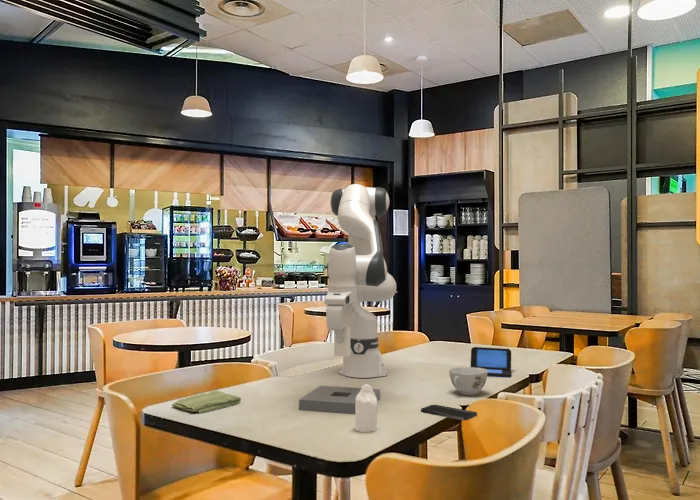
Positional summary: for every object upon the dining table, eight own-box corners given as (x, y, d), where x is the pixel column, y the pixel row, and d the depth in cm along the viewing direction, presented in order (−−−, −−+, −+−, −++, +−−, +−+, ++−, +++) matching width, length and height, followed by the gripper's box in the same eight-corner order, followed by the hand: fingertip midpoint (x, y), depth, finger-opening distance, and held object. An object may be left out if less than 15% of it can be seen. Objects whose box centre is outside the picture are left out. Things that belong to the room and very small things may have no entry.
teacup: (462, 387, 209) (462, 364, 209) (494, 393, 200) (494, 369, 200) (437, 395, 197) (437, 370, 197) (471, 401, 189) (471, 375, 189)
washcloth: (169, 409, 181) (169, 398, 181) (217, 398, 194) (217, 388, 194) (195, 416, 172) (195, 405, 172) (244, 405, 186) (244, 394, 186)
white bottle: (368, 380, 163) (382, 384, 158) (368, 425, 163) (381, 429, 158) (350, 383, 159) (363, 386, 155) (350, 428, 159) (363, 433, 154)
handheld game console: (468, 376, 230) (468, 351, 230) (471, 369, 243) (471, 346, 243) (511, 378, 226) (511, 353, 226) (511, 371, 239) (511, 348, 239)
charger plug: (338, 354, 188) (338, 323, 188) (350, 354, 187) (350, 323, 187) (334, 356, 184) (334, 324, 184) (346, 356, 183) (346, 325, 183)
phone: (433, 404, 182) (478, 412, 173) (433, 408, 182) (478, 416, 173) (419, 409, 176) (465, 417, 167) (419, 413, 176) (465, 422, 167)
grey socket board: (320, 394, 198) (320, 385, 198) (380, 398, 192) (380, 389, 192) (299, 409, 178) (299, 399, 178) (364, 414, 173) (364, 404, 173)
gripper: (341, 294, 197) (341, 337, 196) (322, 299, 177) (322, 346, 177) (360, 294, 195) (360, 337, 195) (343, 299, 175) (343, 347, 175)
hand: (342, 341), depth 186 cm, fingers closed on charger plug, 4 cm apart
